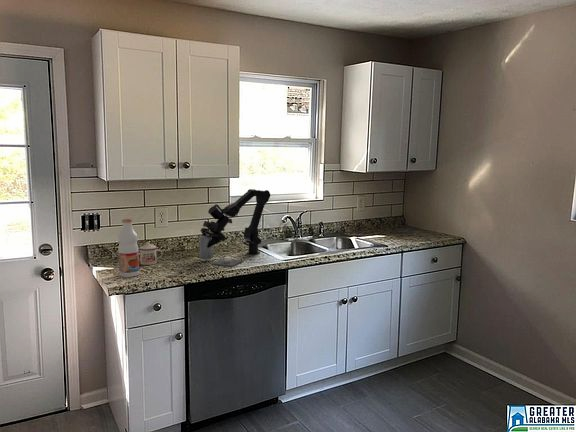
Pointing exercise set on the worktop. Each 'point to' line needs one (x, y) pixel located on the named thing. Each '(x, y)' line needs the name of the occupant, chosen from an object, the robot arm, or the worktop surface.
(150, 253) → the teacup with lid
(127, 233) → the fruit juice
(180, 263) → the worktop surface
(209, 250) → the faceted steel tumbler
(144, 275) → the worktop surface
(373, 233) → the worktop surface
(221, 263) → the rubber mat
